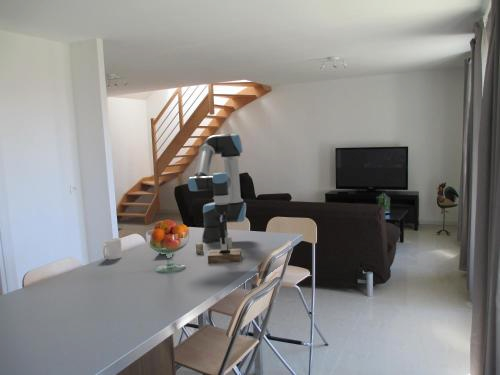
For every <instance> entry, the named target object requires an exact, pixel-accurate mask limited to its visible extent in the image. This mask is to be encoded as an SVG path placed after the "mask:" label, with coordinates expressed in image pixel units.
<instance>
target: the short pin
mask: <svg viewBox="0 0 500 375" xmlns="http://www.w3.org/2000/svg"><path fill="white" fill-rule="evenodd" d="M204 253H205V252H204V243H202V242H198V243H195V254H197V255H198V254H199V255H201V254H204Z"/></svg>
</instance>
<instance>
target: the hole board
mask: <svg viewBox="0 0 500 375" xmlns="http://www.w3.org/2000/svg"><path fill="white" fill-rule="evenodd" d="M242 256H243V253H242V248H232V249H229V253H224V254H221V248H219V249H218V248H217V249H210V251H209V253H208V254H207V265H208V264H209V265H210V264H212V265H213V264H233V263H235V264H236V263H237V264H238V263H241V261H242Z"/></svg>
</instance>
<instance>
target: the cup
mask: <svg viewBox="0 0 500 375" xmlns="http://www.w3.org/2000/svg"><path fill="white" fill-rule="evenodd" d="M121 239H122V238H119V237H113V238H108V239H105V240H104V244H103V247H102V255H103V257H104V258H106V259H107V260H108V261H109V260H112V261H113V260H117V259H121V258H122V257H123V250H122V249H123V248H122V240H121Z"/></svg>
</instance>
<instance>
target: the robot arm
mask: <svg viewBox="0 0 500 375" xmlns="http://www.w3.org/2000/svg"><path fill="white" fill-rule="evenodd" d="M242 145H243V143H242V140H241V137H240V135H239V134H238V133H228V134H227V133H225V134H214V135H210V136H208V137H207V138H205V139H204V141H202V142H201V144H200V146H199V148H198V159H197V164H196V168H195V172H194V176H190V177H189V178H188V180H187V186H188V190H189V191H190V192H204V191H205V192H206V191H213V197H212V200H213V202H209V203H206V204H204V205H203V207H202V214H203V215H202V216H203V233H202V235H201V236H202V237H201V238H202V239H201V241H202V242H204V243H219V242H220V238H221V247H220V249H221V250H227V243H226V235H225V231H227V234H228V235H229V232H228V223H243V222H244V221H245V220H246V215H247V214H246V211H247V203H246V202H244V199H243V198H242V197H241V196H242V195H241V183H240V170H239V169H240V167H239V158H240V157H241V154H242V153H243V152H244V151H243V150H244V149H243V146H242ZM215 155H220V157H221V158H222V160H223V164H224V166H223V167H224V172H216V173H215V172H214V173H213V174H212V175H210V170H211V167H212V166H211V165H212V161H213V160H212V159H213V158H214V156H215Z"/></svg>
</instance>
